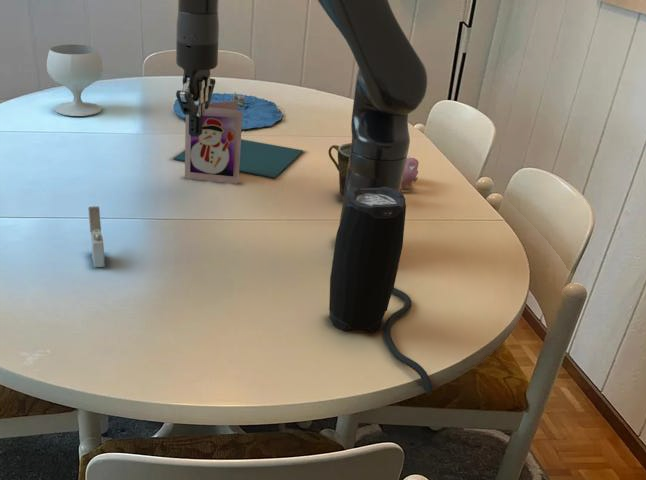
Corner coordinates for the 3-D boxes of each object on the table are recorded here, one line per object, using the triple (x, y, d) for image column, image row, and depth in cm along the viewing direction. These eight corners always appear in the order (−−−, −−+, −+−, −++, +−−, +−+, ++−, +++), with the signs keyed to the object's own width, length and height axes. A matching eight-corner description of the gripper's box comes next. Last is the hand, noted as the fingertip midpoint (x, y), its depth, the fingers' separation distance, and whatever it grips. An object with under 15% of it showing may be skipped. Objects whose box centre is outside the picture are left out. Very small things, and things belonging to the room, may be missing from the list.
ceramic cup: (390, 200, 145) (399, 151, 139) (362, 213, 139) (370, 163, 133) (338, 182, 152) (344, 135, 147) (309, 194, 146) (315, 145, 140)
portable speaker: (312, 317, 106) (329, 192, 95) (355, 299, 111) (375, 178, 100) (356, 343, 101) (378, 213, 89) (398, 323, 106) (425, 198, 94)
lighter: (104, 266, 116) (102, 221, 112) (94, 267, 116) (91, 221, 111) (101, 247, 122) (98, 203, 117) (90, 248, 121) (87, 203, 117)
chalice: (100, 119, 181) (97, 57, 172) (45, 117, 181) (39, 54, 172) (108, 104, 192) (106, 45, 184) (56, 102, 192) (51, 42, 184)
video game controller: (402, 201, 149) (424, 173, 145) (384, 189, 149) (405, 161, 145) (402, 184, 157) (422, 158, 153) (385, 173, 157) (405, 146, 153)
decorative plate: (303, 116, 196) (306, 96, 193) (247, 141, 174) (249, 120, 171) (213, 92, 208) (215, 73, 205) (150, 113, 186) (151, 92, 183)
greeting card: (183, 179, 149) (184, 106, 141) (191, 167, 156) (192, 96, 147) (237, 185, 148) (241, 111, 140) (242, 173, 154) (247, 101, 146)
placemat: (274, 179, 152) (274, 177, 152) (173, 159, 159) (173, 157, 159) (303, 152, 167) (303, 150, 167) (209, 135, 175) (209, 133, 174)
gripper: (193, 30, 134) (192, 123, 144) (162, 42, 124) (162, 141, 134) (230, 34, 132) (226, 129, 142) (201, 47, 122) (198, 148, 131)
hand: (195, 135), depth 138 cm, fingers closed
